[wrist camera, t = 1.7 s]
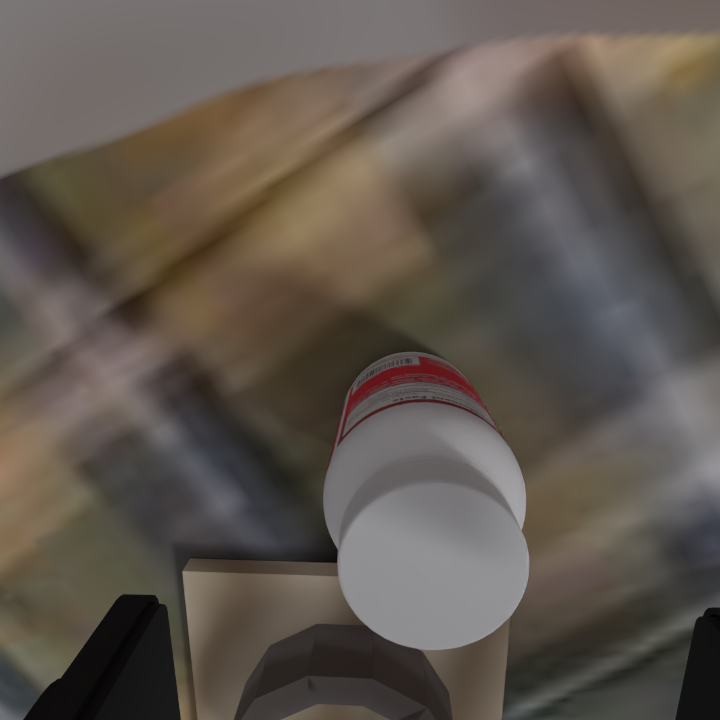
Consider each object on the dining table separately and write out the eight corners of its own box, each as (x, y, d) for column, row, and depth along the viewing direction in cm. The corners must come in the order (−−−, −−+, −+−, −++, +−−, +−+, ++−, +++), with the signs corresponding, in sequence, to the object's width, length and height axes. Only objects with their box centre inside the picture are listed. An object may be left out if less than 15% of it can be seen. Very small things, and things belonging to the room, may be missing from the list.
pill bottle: (435, 495, 23) (477, 712, 13) (321, 438, 23) (264, 612, 12) (503, 386, 22) (616, 527, 11) (383, 323, 22) (379, 406, 11)
